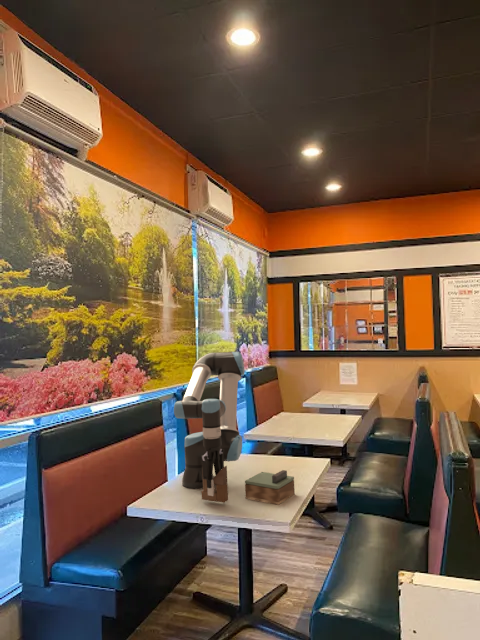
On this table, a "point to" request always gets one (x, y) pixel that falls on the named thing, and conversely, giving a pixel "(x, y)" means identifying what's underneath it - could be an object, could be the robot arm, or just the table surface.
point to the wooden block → (221, 486)
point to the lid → (270, 479)
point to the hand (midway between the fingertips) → (214, 493)
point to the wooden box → (269, 493)
